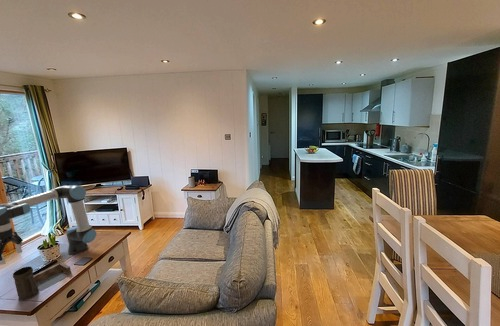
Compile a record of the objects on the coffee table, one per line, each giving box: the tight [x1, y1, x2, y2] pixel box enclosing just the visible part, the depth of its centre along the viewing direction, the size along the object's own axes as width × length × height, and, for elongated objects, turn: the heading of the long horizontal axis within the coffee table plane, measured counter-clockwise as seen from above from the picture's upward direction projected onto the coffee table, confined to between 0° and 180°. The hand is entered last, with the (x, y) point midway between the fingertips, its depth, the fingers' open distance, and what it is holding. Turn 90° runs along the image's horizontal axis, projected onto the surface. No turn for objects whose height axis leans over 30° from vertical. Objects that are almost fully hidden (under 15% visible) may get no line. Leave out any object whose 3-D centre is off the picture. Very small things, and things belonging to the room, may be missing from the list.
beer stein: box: [12, 266, 40, 302], centre depth 160 cm, size 15×11×20 cm
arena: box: [33, 261, 72, 284], centre depth 178 cm, size 20×14×6 cm
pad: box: [36, 271, 69, 292], centre depth 177 cm, size 17×12×1 cm
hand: (11, 258), depth 160 cm, fingers open, 13 cm apart
